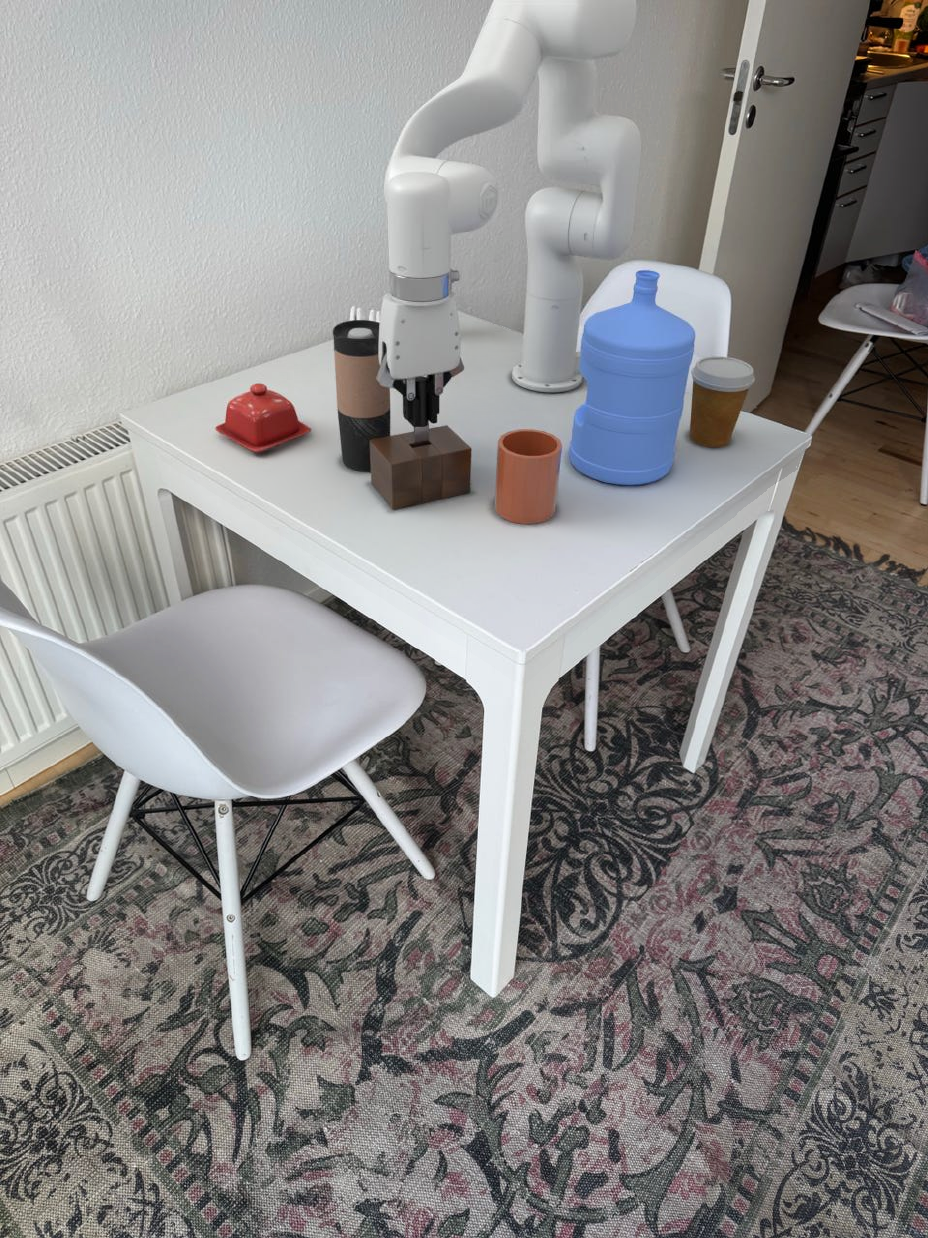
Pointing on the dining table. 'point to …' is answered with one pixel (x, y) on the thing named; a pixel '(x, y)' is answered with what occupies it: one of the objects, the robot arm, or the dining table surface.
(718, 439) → the disposable coffee cup
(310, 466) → the dining table surface
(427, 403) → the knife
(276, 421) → the butter dish
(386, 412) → the travel mug
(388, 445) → the knife block
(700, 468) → the dining table surface
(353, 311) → the shaker set
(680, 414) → the water jug
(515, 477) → the cup
